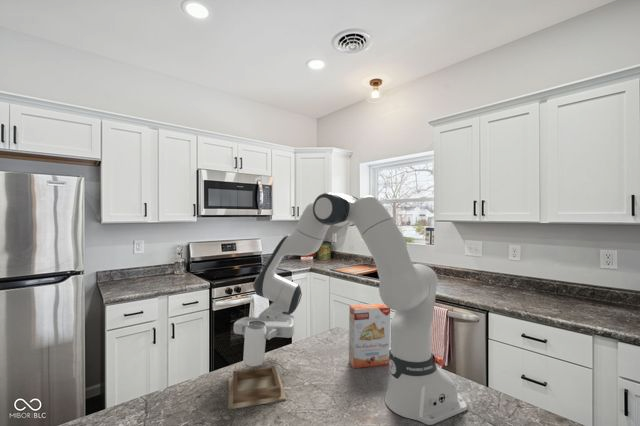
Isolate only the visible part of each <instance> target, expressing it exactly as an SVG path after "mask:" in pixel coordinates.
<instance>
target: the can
mask: <svg viewBox="0 0 640 426" xmlns="http://www.w3.org/2000/svg"><path fill="white" fill-rule="evenodd" d="M265 333H266V327H265V323H264V322H262V321H251V322H249V323H248V324H247V327H246V329H245V338H244V343H243V358H242V359H243V361H242V362H243V363H244V364H245V365H246V367H251V368H255V367H259V366H261V365H262V364H263V363H264V361H265V354H266V353H265V352H266V340H267V339H265Z"/></svg>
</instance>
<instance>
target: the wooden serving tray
mask: <svg viewBox="0 0 640 426" xmlns="http://www.w3.org/2000/svg"><path fill="white" fill-rule="evenodd" d="M232 372H233V374H232V376H230V377H228V398H227V400H228V402H227V410H233V409H234V410H235V409H240V408H247V407H253V406H258V405H259V406H260V405H263V404H270V403H277V402H283V401H286V400H287V397H286V394H285V391H284V390H285V389H284V386H283V384H282V380H281V376H280V373H279V371H278V370H277V368H276V366H275V365H272V366H264V367H257V368H255V367H254V368H249V369H239V370H234V371H232Z"/></svg>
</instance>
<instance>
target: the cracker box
mask: <svg viewBox="0 0 640 426" xmlns="http://www.w3.org/2000/svg"><path fill="white" fill-rule="evenodd" d="M348 316H349V317H348V319H349V321H348V323H349V324H348V327H349V328H348V362H349V364H350V365H351V366H352V368H353V369H359V368H368V367H379V366H388V365H389V351H390V349H391V309H390V308H389V307H387V306H386V305H385V304H384V303H372V304H371V303H370V304H367V303H366V304H354V305H353V304H351V305H349V315H348Z"/></svg>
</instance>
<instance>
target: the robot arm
mask: <svg viewBox="0 0 640 426" xmlns="http://www.w3.org/2000/svg"><path fill="white" fill-rule="evenodd" d="M332 226H335V227H341V228H342V227H353V226H355V228H356V229H357V230H358V233H359V235H360V236H361V238H362V240H363V241H364V243H365V245H366V247H367V249H368V251H369V253H370V255H371V256H372V259H373V261H374V265H375V267H376V272H377V276H378V279H379V286H378V294H379V297H380V299H381V302H382V304H385V305H386V306H387V307H389V308H390V310H393V311H394V314H393V317H392V320H391V321H390V349H389V366H388V369H389V370H388V371H389V378H388V385H387V390H386V393H385V397H384V402H385V404H386V406H387V407H388V408H389V409H390V411H392V412H394V414H396V415H399V416H400V417H403V418H406V419H411V420H415V421H418V422H421V423H423V424H425V425H428V426H432V425H436V424H437V423H439V422H442V421H444V420H446V419H449V418H451V417H453V416H456V415H458V414H460V413H463V412H466V411H467V410H468V405H467V403H466V401H465V400H464V398H463V397H462V396H461V395H460V394H459V393H458V390H457V385H456V384H455V382H454V381H453V378H451V377H450V376H449V375H448V374H446V373H445V372H444V371H442V369H440V368H439V367H443V366H444V364H445V360H444V359H443V358H441V357H440V356H438V355H437V356H436V355H435V354H434V353H432V323H433V317H434V310H435V304H436V303H435V302H436V296H437V295H436V294H437V288H438V287H439V277H438V276H437V273H436V272H435V270H433V269H432V268H431V267H429V266H427V265H424V264H421V263H413V262H412V260H411V257H410V254H409V250H408V248H407V247H408V243H407V239H406V238H405V236H404V235H403V234H402V231H401V230H400V229H399V227H398V225H397V224H396V222H395V220H394V218H393V217H392V215H391V214H390V212H389V211H388V209H386V207H385V206H384V205H383V203H382V202H381V201H380V200H379V199H378V198H376V196H373V195H364V196H362V197H359V198H357V197H356V196H353V195H352V196H351V195H349V194H345V193H342V192H341V193H340V192H339V193H338V192H324V193H322V194H319V195H318V196H317V197H316V198H315V199H314V201H313V202H312V203H309V204H308V205H306V207H305V209H304V210H303V212H302V214H301V215H300V217H299V220H298V222H297V223H296V227H295V229H294V230H293V232H292V233H291V234H290V235H284V237H283V238H282V239H281V240H280V241H279V242H278V243H277V246H275V248H274V250H273V252H272V253H271V254H270V256H269V259H268V260H267V261H266V263H265V264H264V267H263V268H262V270H261V271H260V273H259V274H258V275H257V277H256V278H255V280H254V282H253V290H254V291H255V292H254V293H255V294H256V296H258V297H260V298H261V297H262V298H264V299H267V300H269V301H271V302H272V303H271V304H270V305H268V307H266V308H265V309H264V310H263V311H261V313H260V314H259V315H258V317H256V316H245V317H241V318H239V319H238V320H236V321H235V322H234V323H233V333H234V334H235V335H243V338H244V339H245V329H246V327H247V324H248V323H249V322H251V321H262V322H264V323H265V327H266V333H265V339H266V340H269V341H270V340H271V339H272V338H287V339H289V338H293V337H294V335H295V326H296V325H295V323H296V322H295V321H296V320H295V314H294V312H296V309H297V308H298V306H299V304H300V302H301V299H302V295H303V292H302V288H301V286H300V285H299V284H297V283H296V282H293V281H292V280H290V279H287V278H285V277H283V276H281V275H278V273H276V269H277V268H278V267H279V265H280V263H281V262H282V259H283V258H284V257H285V256H303V257H304V256H309V255H314V254H315V253H317V252H318V251H319V250H320V248H321V246H322V244H323V243H324V240H325V237H326V235H327V232H328V230H329V228H330V227H332ZM436 364H437V365H438V366H439V367H438V366H437V365H436Z"/></svg>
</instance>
